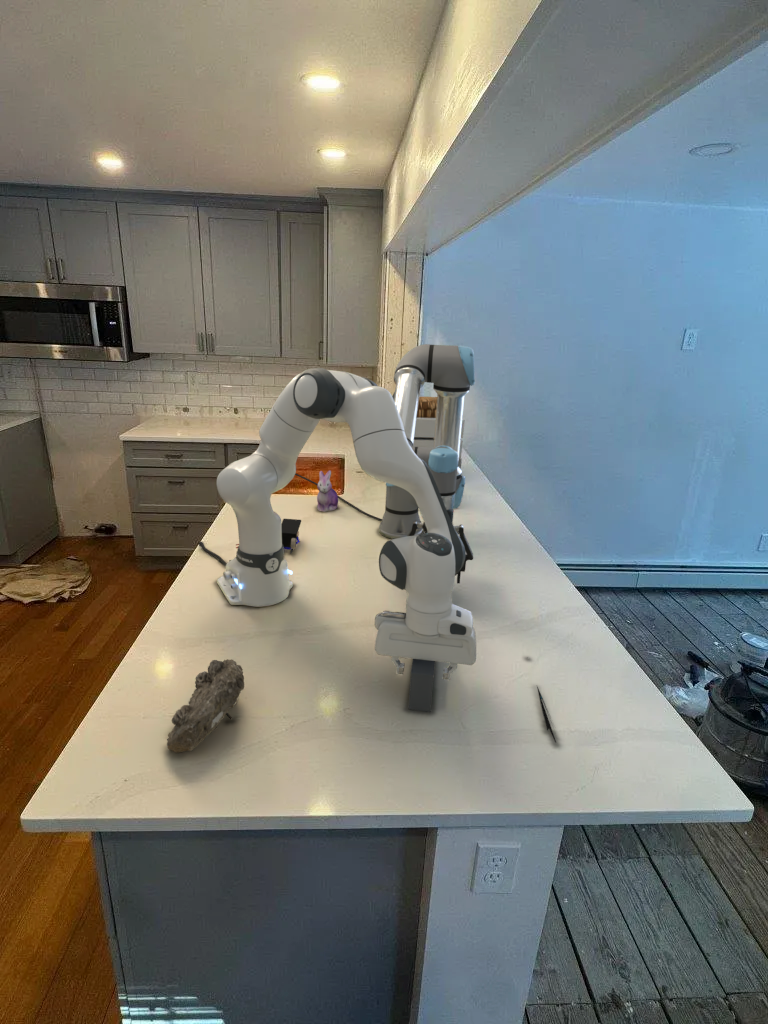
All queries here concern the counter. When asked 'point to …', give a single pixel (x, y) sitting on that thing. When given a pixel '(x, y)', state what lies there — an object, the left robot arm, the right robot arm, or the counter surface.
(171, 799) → the counter surface
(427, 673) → the bar
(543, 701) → the feather
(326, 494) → the figurine
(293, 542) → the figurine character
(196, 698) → the fossil
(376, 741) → the counter surface
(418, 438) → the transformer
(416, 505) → the right robot arm
